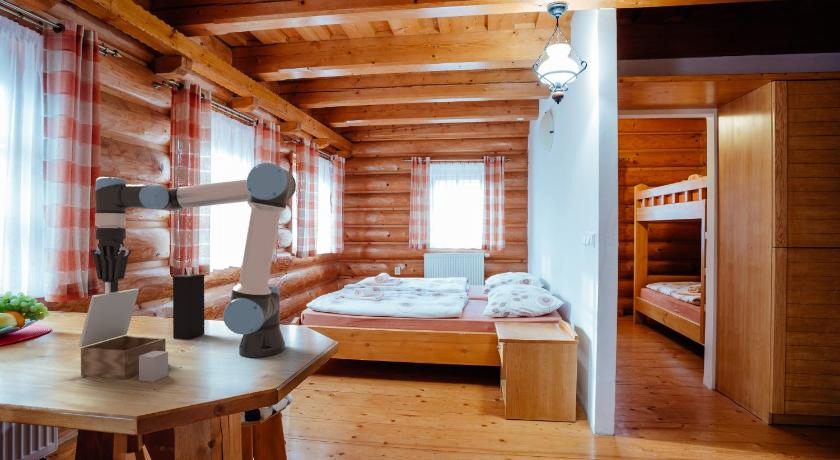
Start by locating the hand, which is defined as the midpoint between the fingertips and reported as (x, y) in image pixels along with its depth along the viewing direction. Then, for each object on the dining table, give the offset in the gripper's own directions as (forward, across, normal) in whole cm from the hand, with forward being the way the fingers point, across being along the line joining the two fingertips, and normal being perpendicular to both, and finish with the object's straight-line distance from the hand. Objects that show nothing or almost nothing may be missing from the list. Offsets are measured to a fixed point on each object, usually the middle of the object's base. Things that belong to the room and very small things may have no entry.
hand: (111, 302), depth 124 cm
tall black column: (+21, +4, -35) cm, 41 cm away
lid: (+4, 0, 0) cm, 4 cm away
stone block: (+20, -20, +4) cm, 29 cm away
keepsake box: (+20, -5, 0) cm, 21 cm away
